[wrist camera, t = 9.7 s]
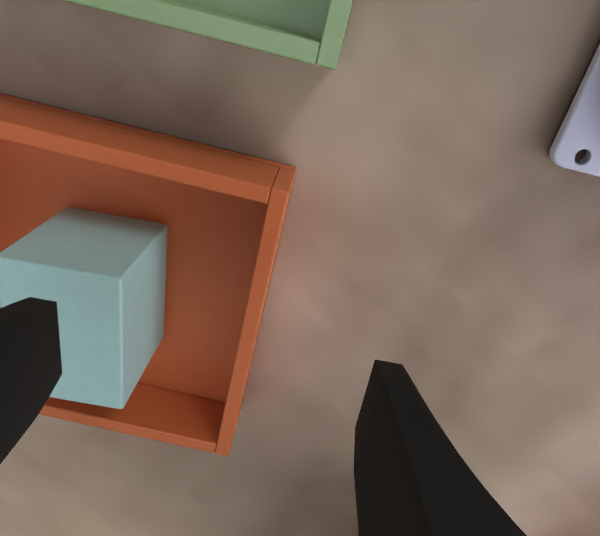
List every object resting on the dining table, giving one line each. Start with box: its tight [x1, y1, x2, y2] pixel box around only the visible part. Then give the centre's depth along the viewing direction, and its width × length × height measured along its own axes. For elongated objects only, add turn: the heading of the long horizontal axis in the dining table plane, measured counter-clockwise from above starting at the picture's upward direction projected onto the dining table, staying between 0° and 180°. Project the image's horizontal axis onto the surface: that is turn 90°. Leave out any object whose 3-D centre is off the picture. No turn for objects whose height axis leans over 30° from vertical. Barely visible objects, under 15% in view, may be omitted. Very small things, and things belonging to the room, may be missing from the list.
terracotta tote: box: [0, 94, 296, 456], centre depth 19 cm, size 12×12×3 cm
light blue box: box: [0, 207, 168, 409], centre depth 18 cm, size 4×5×5 cm
